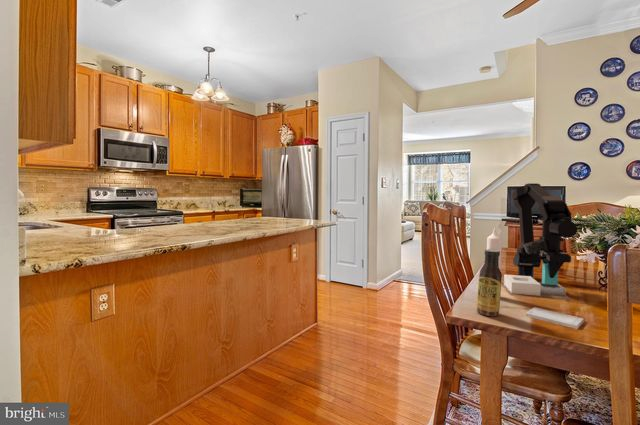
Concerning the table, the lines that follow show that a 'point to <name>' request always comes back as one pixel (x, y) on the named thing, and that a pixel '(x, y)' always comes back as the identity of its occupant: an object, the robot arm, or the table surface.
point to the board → (542, 295)
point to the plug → (546, 277)
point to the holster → (552, 289)
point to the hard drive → (555, 317)
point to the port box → (522, 285)
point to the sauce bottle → (489, 285)
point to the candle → (495, 244)
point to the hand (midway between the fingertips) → (549, 276)
